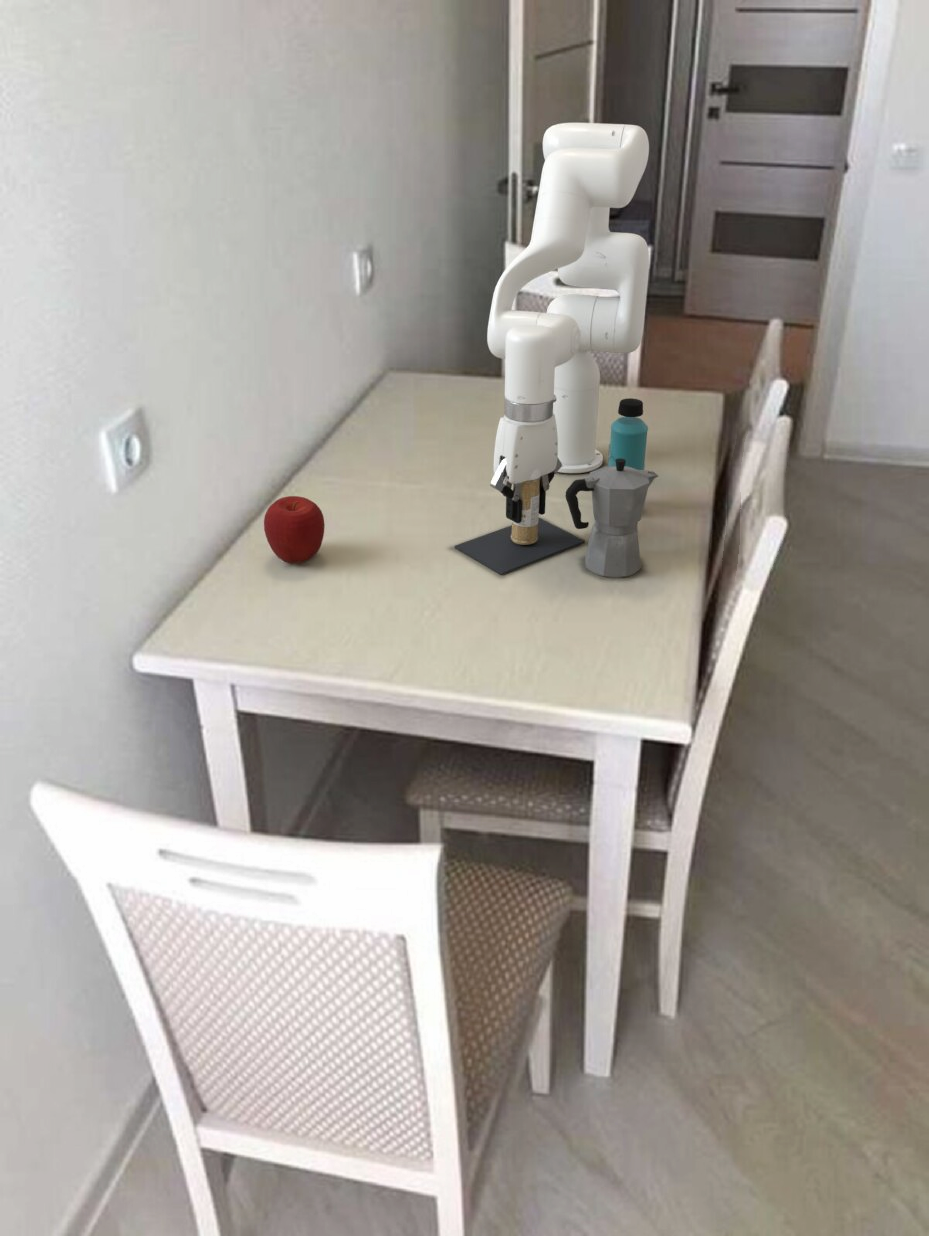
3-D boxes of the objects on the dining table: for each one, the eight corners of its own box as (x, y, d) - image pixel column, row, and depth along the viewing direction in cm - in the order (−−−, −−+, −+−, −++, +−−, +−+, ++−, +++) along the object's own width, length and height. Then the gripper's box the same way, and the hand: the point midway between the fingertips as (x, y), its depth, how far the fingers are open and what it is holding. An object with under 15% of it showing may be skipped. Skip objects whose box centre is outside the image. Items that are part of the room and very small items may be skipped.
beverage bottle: (644, 505, 188) (654, 396, 177) (637, 520, 182) (647, 409, 172) (608, 500, 189) (616, 392, 179) (600, 515, 184) (608, 404, 174)
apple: (278, 577, 165) (272, 518, 160) (259, 552, 172) (253, 495, 167) (335, 563, 169) (331, 506, 164) (314, 539, 176) (309, 484, 171)
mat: (454, 547, 173) (454, 545, 173) (536, 518, 183) (536, 516, 183) (501, 575, 165) (501, 573, 165) (584, 542, 175) (585, 540, 175)
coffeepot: (635, 545, 174) (644, 442, 165) (663, 571, 166) (675, 464, 157) (549, 560, 170) (554, 455, 160) (574, 587, 162) (581, 478, 153)
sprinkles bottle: (505, 540, 174) (506, 464, 167) (522, 531, 177) (524, 455, 170) (527, 548, 172) (529, 471, 165) (544, 539, 175) (547, 463, 168)
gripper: (552, 390, 170) (548, 495, 179) (470, 413, 161) (470, 522, 170) (585, 403, 165) (579, 509, 174) (502, 427, 156) (500, 538, 165)
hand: (525, 514), depth 172 cm, fingers closed on sprinkles bottle, 4 cm apart
